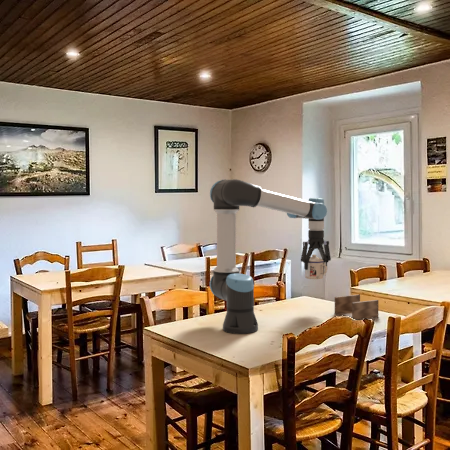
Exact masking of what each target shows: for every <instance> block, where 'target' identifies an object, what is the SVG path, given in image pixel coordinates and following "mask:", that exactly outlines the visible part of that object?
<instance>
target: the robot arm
mask: <svg viewBox="0 0 450 450" xmlns="http://www.w3.org/2000/svg"><path fill="white" fill-rule="evenodd" d="M209 191H210V192H209V197H210V200H211V201H212V203H213V211H215V213H216V267H215V268H214V269H213V275H212V276H211V278H210V280H209V288H210V291H211V293H212V294H213V295H214V296H215V297H216V298H218V299H219V300H223V301H224V302H225V301H226V314H225V316H224V317H225V318H224V320H223V323H222V330H223V331H224V332H225V333H228V334H235V335H240V334H241V335H242V334H252V333H256V332H257V331H258V330H259V323H258V321H257V318H256V315H255V305H254V304H255V299H254V298H255V296H254V291H255V290H254V289H255V285H254V284H255V283H254V279H253V277H252V276H250V275H249V274H243V273H240V269H239V268H238V267H237V265H236V263H237V262H236V261H237V259H236V257H237V244H236V243H237V213H238V212H239V211H240V207H250V208H256V207H260V208H265V209H268V210H274V211H277V212H281V213H285V214H286V215H287V217H288V218H289V219H308V220H307V221H308V226H307V227H308V229H309V230H308V231H307V232H308V233H307V236H308V240H306V241H302V250H301V255H300V256H301V257H300V262H302V263H303V269H304V270H306V276H307V277H310V263H308V262H309V260H310V257H312V255H313V253H314V251H315V250H318V252H319V254H320V258H321V259H323V261H324V262H323V264H324V265H326V266H327V267H328V263H329V262H330V261H331V260H332V258H331V252H330V246H329V245H330V241H329V240H324V237H325V231H324V229H325V218H326V216H327V214H328V209H327V206H326V205H325V199H324V198H323V197H312V198H311V197H310V198H309V199H308V200H307V199H302V198H297V197H295V196H290V195H286V194H283V193H279V192H274V191H272V190H271V191H270V190H267V189H262V187H261V186H260V185H256V184H253V183H251V182H248V181H244V180H241V179H237V178H235V179H233V178H232V179H226V178H225V179H220V180H218V181H216V182H215V183H213V184H212V186H211V188H210V190H209ZM324 272H325V267H324V266H323V273H324ZM326 275H327V273H326V274H323V277H325V276H326Z"/></svg>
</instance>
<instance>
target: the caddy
mask: <svg viewBox="0 0 450 450" xmlns="http://www.w3.org/2000/svg"><path fill="white" fill-rule="evenodd" d="M337 314H338V316H340V315H343V316H349V317H351V318H353V319H360V320H364V319H363V318H368V319H375V318H379V299H372V300H365V301H363V300H362V301H361V294H351V295H341V296H335V297H334V315H337ZM343 316H342V317H343Z"/></svg>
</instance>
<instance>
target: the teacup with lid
mask: <svg viewBox="0 0 450 450" xmlns="http://www.w3.org/2000/svg"><path fill="white" fill-rule="evenodd" d="M323 262H324V261H323V259H322V258H321V257H318V256H317V254H312V255H311V257H310V260H309V262H308V263H310V277H307V276H306V270H305V269H304V270H305V271H304V273H305V274H304V277H305V279H307V280H322V279H324V275H323V274H326V275H327V272H328V265H327V266H326V265H324V264H323ZM323 266H324V267H325V272H324V273H323Z"/></svg>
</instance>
